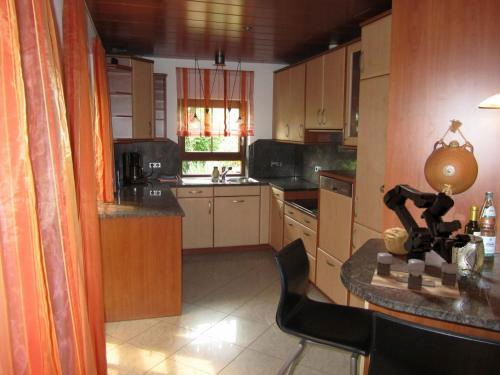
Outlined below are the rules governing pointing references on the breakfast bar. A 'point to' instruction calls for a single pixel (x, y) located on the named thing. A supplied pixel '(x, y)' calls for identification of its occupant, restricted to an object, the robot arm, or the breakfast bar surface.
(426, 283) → the pattern card
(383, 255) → the button
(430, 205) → the robot arm
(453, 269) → the button
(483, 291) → the breakfast bar surface
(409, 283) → the button panel
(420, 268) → the far button
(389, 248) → the sculpture
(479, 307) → the breakfast bar surface
